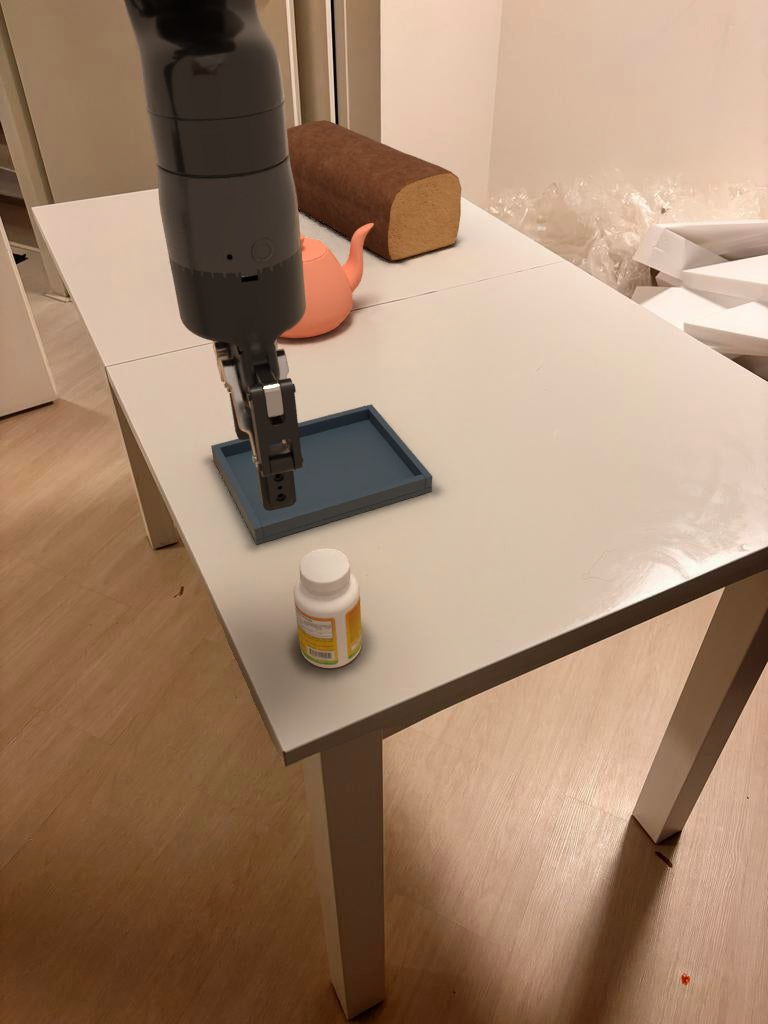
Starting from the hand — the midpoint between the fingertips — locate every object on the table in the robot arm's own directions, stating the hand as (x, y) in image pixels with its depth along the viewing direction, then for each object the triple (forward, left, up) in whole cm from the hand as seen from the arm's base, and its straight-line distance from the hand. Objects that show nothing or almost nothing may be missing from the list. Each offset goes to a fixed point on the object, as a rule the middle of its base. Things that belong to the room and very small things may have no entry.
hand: (264, 468), depth 56 cm
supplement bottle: (+4, -1, -20) cm, 20 cm away
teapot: (+24, +58, -20) cm, 66 cm away
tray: (+12, +22, -20) cm, 32 cm away
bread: (+47, +90, -20) cm, 104 cm away
